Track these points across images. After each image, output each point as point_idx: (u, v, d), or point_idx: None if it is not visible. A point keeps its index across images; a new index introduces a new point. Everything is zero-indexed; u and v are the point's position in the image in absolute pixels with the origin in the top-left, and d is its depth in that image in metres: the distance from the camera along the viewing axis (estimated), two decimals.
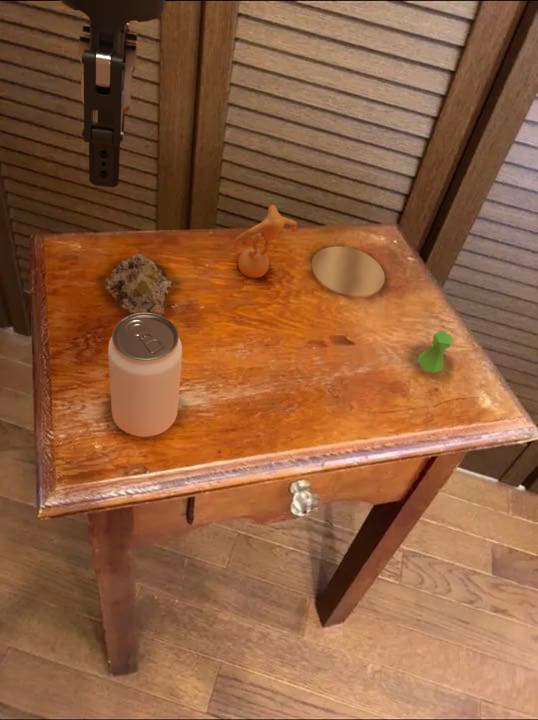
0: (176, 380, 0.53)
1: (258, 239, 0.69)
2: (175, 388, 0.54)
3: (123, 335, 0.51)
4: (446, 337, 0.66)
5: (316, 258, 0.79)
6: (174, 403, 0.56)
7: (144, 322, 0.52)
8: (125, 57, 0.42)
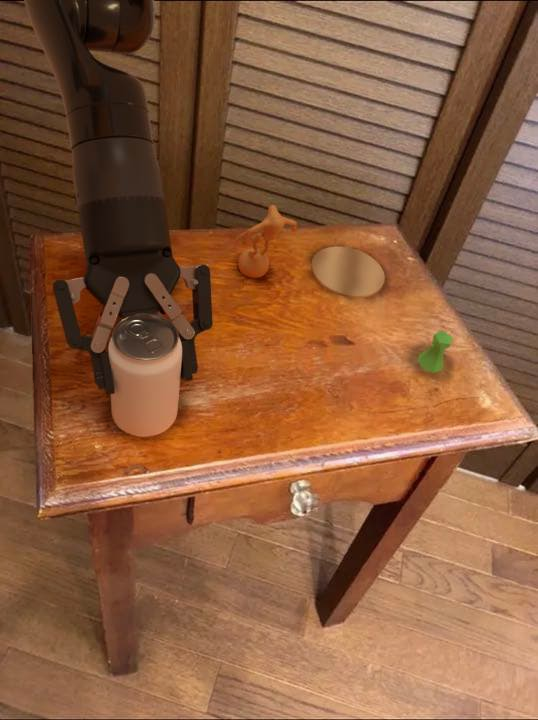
0: (176, 380, 0.53)
1: (258, 239, 0.69)
2: (175, 388, 0.54)
3: (123, 335, 0.51)
4: (446, 337, 0.66)
5: (316, 258, 0.79)
6: (174, 403, 0.56)
7: (144, 322, 0.52)
8: None
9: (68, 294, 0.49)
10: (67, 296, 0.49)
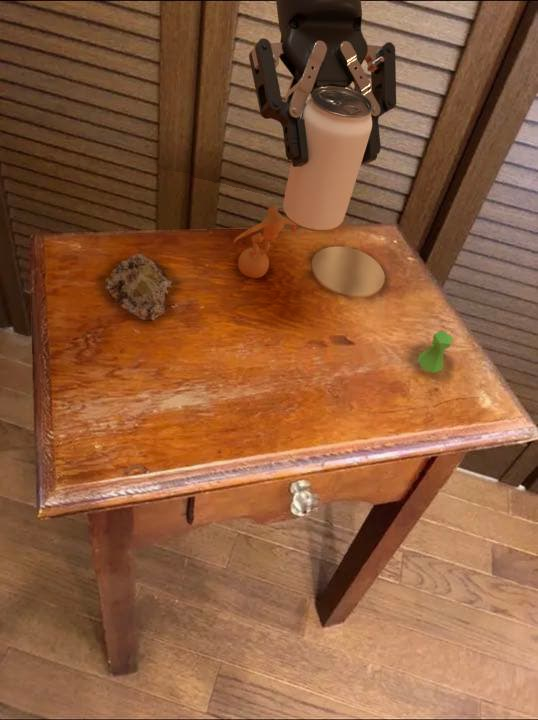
0: (362, 156, 0.54)
1: (258, 239, 0.69)
2: (359, 167, 0.55)
3: (320, 100, 0.52)
4: (446, 337, 0.66)
5: (316, 258, 0.79)
6: (352, 188, 0.57)
7: (335, 93, 0.53)
8: None
9: (271, 54, 0.50)
10: (270, 56, 0.50)
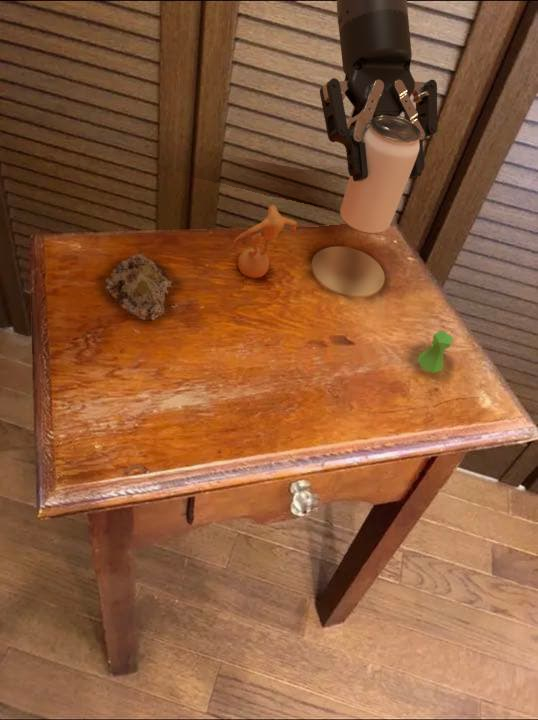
0: (410, 172, 0.66)
1: (258, 239, 0.69)
2: None
3: (378, 128, 0.64)
4: (446, 337, 0.66)
5: (316, 258, 0.79)
6: (400, 198, 0.69)
7: (389, 121, 0.65)
8: None
9: (339, 91, 0.62)
10: (339, 92, 0.62)
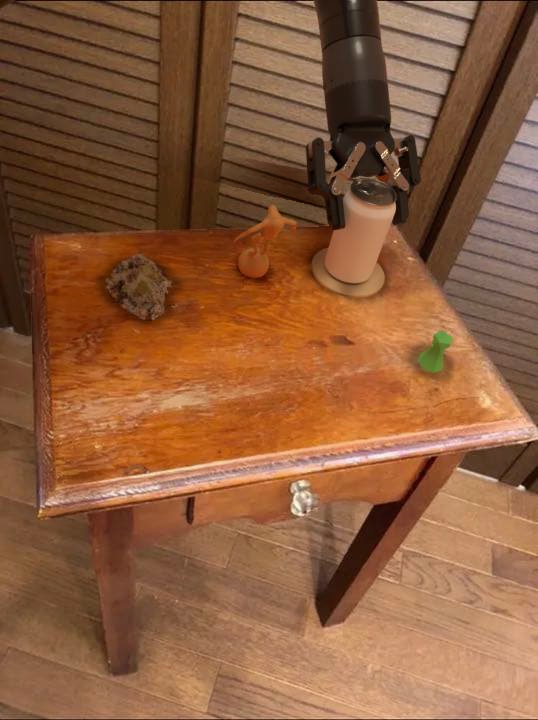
0: None
1: (258, 239, 0.69)
2: (385, 237, 0.73)
3: (357, 191, 0.69)
4: (446, 337, 0.66)
5: (316, 258, 0.79)
6: (379, 252, 0.75)
7: (368, 184, 0.71)
8: None
9: (323, 149, 0.67)
10: (322, 151, 0.67)
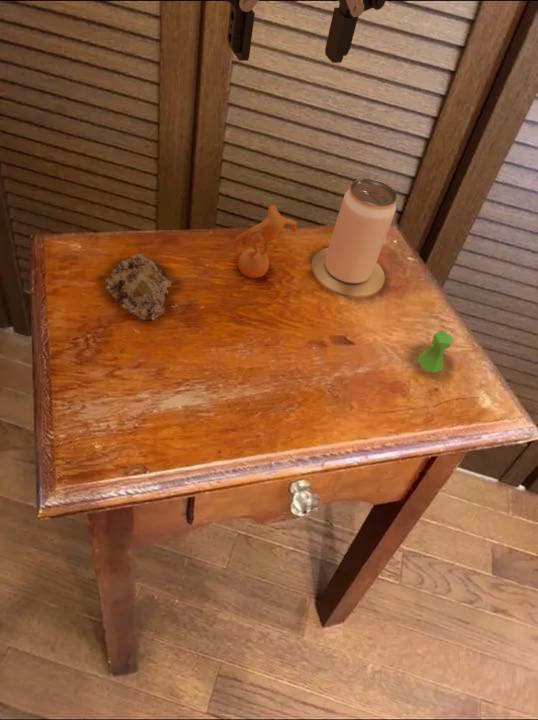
0: None
1: (258, 239, 0.69)
2: (385, 237, 0.73)
3: (357, 191, 0.69)
4: (446, 337, 0.66)
5: (316, 258, 0.79)
6: (379, 252, 0.75)
7: (368, 184, 0.71)
8: None
9: None
10: None
